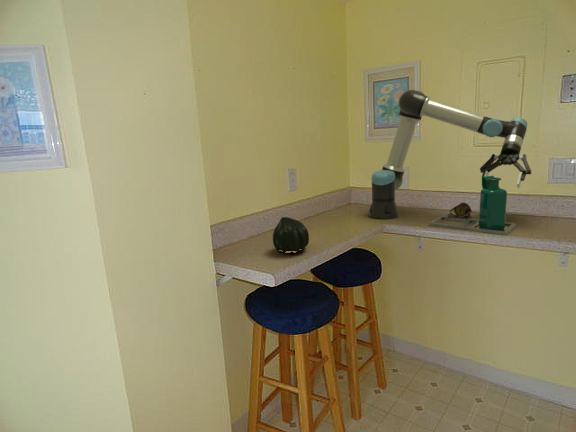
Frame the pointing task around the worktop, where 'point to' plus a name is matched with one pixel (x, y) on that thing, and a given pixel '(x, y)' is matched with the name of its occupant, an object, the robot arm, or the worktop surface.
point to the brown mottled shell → (460, 210)
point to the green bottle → (492, 204)
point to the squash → (290, 235)
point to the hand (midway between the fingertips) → (500, 185)
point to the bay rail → (473, 228)
